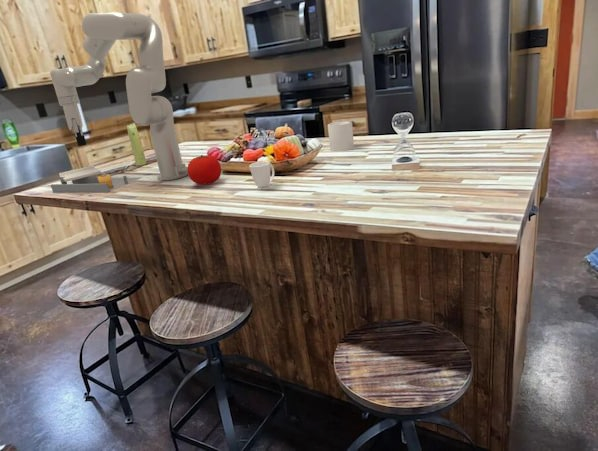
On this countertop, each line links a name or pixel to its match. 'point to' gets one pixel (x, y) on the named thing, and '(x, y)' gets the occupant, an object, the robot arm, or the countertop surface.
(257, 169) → the cup
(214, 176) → the tomato
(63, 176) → the cover
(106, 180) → the orange cube
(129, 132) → the tube
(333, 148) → the mug
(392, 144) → the countertop surface
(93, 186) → the grey tray
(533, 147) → the countertop surface
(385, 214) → the countertop surface
